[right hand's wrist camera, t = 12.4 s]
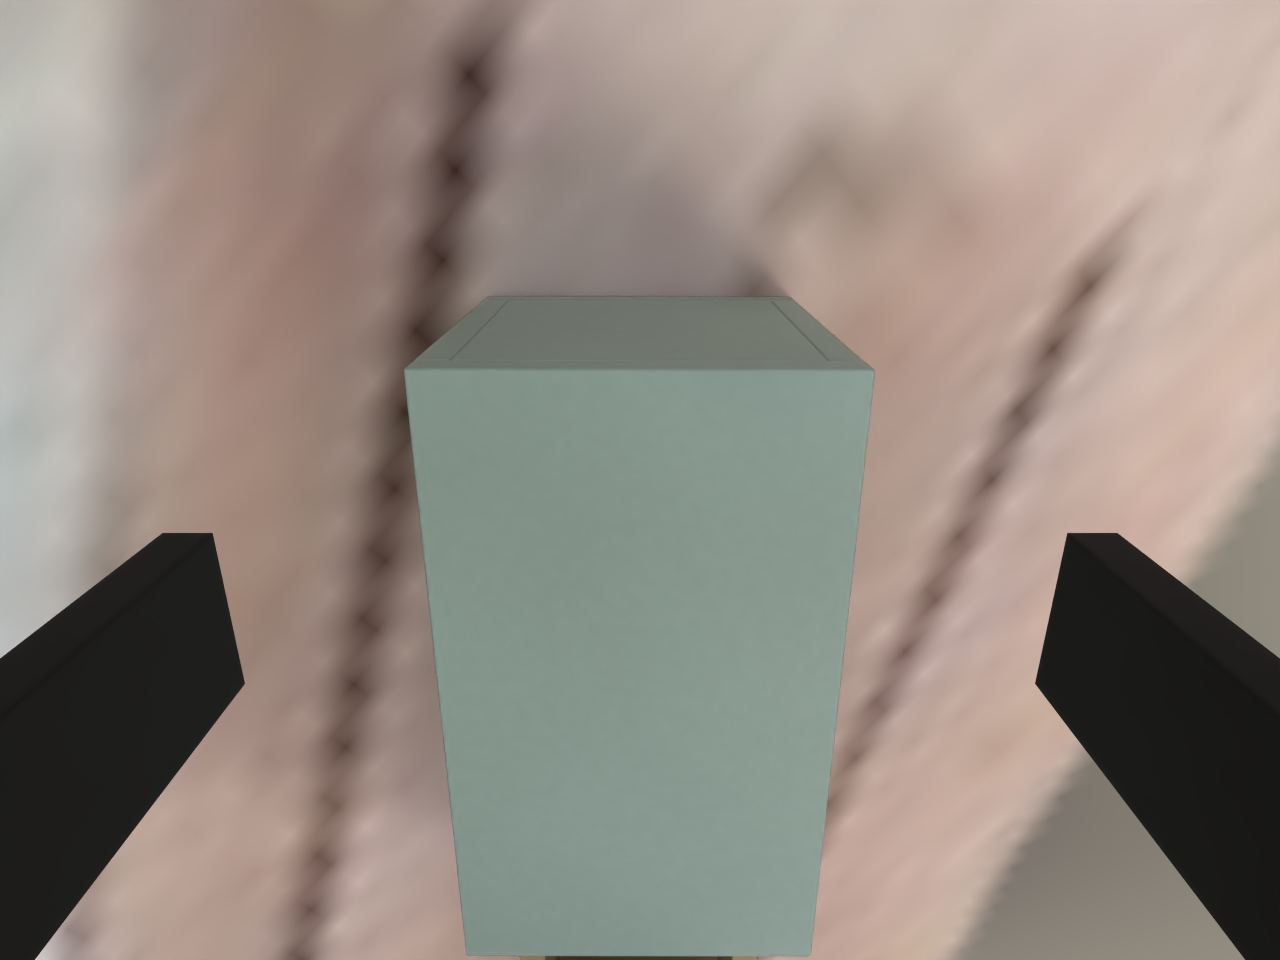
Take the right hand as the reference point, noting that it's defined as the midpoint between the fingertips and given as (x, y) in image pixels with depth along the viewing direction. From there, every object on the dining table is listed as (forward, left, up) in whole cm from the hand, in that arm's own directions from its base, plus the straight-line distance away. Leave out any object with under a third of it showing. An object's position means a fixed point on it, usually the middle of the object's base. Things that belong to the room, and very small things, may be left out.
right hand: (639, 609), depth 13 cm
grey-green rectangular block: (+5, +4, -16) cm, 17 cm away
